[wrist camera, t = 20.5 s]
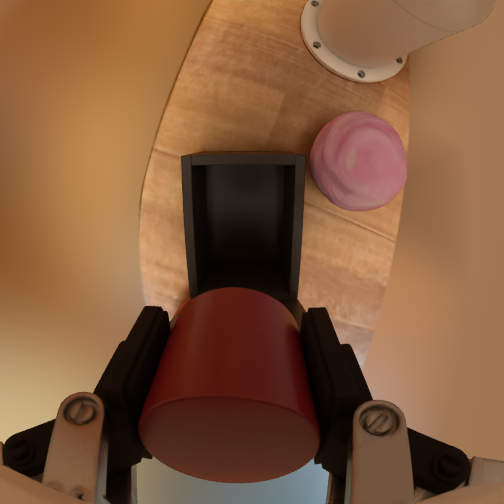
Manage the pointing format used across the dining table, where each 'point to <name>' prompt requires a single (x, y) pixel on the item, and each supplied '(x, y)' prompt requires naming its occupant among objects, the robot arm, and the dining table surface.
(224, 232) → the open square bin
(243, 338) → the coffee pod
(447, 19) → the robot arm
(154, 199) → the dining table surface
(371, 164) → the cupcake
